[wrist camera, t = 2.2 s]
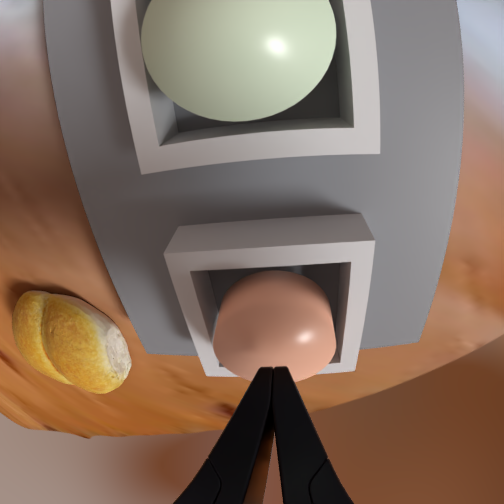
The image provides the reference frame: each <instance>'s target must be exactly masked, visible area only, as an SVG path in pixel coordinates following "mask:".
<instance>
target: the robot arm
mask: <svg viewBox="0 0 504 504" xmlns="http://www.w3.org/2000/svg"><path fill="white" fill-rule="evenodd" d="M274 433H275V438H276V446H277V455H278V463H279V471H280V480H281V487H282V497H283V504H354V503H353V501H352V500H351V498H350V497H349V496H348V494H347V492H346V491H345V489H344V487H343V486H342V484H341V482H340V480H339V478H338V477H337V475H336V472H335V471H334V469H333V467H332V464H331V462H330V460H329V459H328V456H327V453H326V452H325V449H324V447H323V445H322V443H321V440H320V438H319V436H318V434H317V431H316V429H315V427H314V425H313V423H312V420H311V418H310V416H309V414H308V411H307V409H306V407H305V405H304V402H303V400H302V398H301V396H300V393H299V391H298V389H297V387H296V384H295V382H294V380H293V378H292V375H291V373H290V371H289V369H288V367H287V366H275V367H274V368H273V367H271V366H269V367H260V368H259V369H258V371H257V373H256V374H255V376H254V378H253V380H252V382H251V384H250V385H249V387H248V389H247V391H246V392H245V394H244V396H243V398H242V400H241V401H240V403H239V405H238V407H237V408H236V410H235V412H234V414H233V415H232V417H231V419H230V420H229V422H228V424H227V426H226V427H225V429H224V431H223V432H222V434H221V436H220V437H219V439H218V441H217V443H216V444H215V446H214V447H213V449H212V451H211V452H210V454H209V456H208V458H209V459H208V458H207V459H206V461H205V462H204V463H203V465H202V467H201V468H200V470H199V471H198V473H197V474H196V476H195V477H194V478H193V480H192V482H191V483H190V484H189V485H188V486H187V488H186V489H185V490H184V491H183V492H182V494H181V495H180V496H179V497H178V498H177V499H176V500H175V502H174V503H173V504H263V499H264V493H265V488H266V483H267V477H268V471H269V465H270V459H271V453H272V447H273V440H274Z"/></svg>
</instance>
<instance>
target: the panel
mask: <svg viewBox="0 0 504 504" xmlns="http://www.w3.org/2000/svg"><path fill="white" fill-rule="evenodd" d="M150 2H151V0H43V10H44V25H45V36H46V45H47V53H48V61H49V67H50V74H51V80H52V86H53V91H54V97H55V102H56V107H57V112H58V116H59V121H60V125H61V130H62V134H63V138H64V142H65V146H66V150H67V153H68V157H69V161H70V164H71V168H72V171H73V175H74V178H75V181H76V185H77V188H78V191H79V194H80V197H81V200H82V203H83V206H84V209H85V212H86V215H87V218H88V221H89V224H90V226H91V229H92V232H93V234H94V237H95V240H96V242H97V245H98V248H99V250H100V253H101V255H102V258H103V260H104V263H105V265H106V267H107V270H108V272H109V275H110V277H111V279H112V282H113V284H114V286H115V288H116V291H117V293H118V295H119V297H120V300H121V302H122V304H123V306H124V308H125V310H126V312H127V315H128V317H129V319H130V321H131V323H132V325H133V327H134V329H135V331H136V333H137V335H138V337H139V339H140V341H141V343H142V345H143V346H144V348H145V350H146V352H147V353H148V354H165V355H189V356H199V358H200V361H201V363H202V366H203V368H204V371H205V373H206V376H226V377H239V376H237V375H235V374H233V373H232V372H230V371H229V370H227V369H226V368H225V367H224V366H223V365H222V364H221V363H220V362H219V360H218V359H217V357H216V355H215V353H214V349H213V339H214V334H215V329H216V324H217V320H218V315H219V311H220V306H221V301H222V299H223V296H224V295H225V293H226V291H227V290H228V289H229V288H230V287H231V286H232V285H233V284H234V283H235V282H237V281H239V280H240V279H242V278H244V277H246V276H248V275H251V274H254V273H258V272H262V271H271V270H279V271H288V272H293V273H297V274H300V275H302V276H305V277H307V278H309V279H310V280H312V281H314V282H315V283H316V284H317V285H319V286H320V287H321V288H322V290H323V291H324V292H325V294H326V295H327V297H328V300H329V303H330V308H331V314H332V320H333V326H334V332H335V338H336V350H335V354H334V356H333V358H332V359H331V361H330V362H329V363H328V365H327V366H326V367H325V368H323V369H322V370H321V371H319V372H318V373H317V374H326V373H338V372H348V371H355V367H356V363H357V358H358V353H359V350H360V349H370V348H378V347H386V346H394V345H402V344H409V343H415V342H419V339H420V337H421V334H422V331H423V328H424V325H425V322H426V320H427V317H428V313H429V310H430V307H431V304H432V301H433V297H434V294H435V291H436V287H437V284H438V280H439V276H440V273H441V269H442V265H443V261H444V257H445V252H446V248H447V244H448V239H449V234H450V229H451V224H452V219H453V213H454V208H455V202H456V195H457V188H458V181H459V173H460V164H461V153H462V141H463V123H464V70H463V53H462V41H461V31H460V23H459V15H458V8H457V2H456V0H329V2H330V5H331V8H332V10H333V13H334V18H335V23H336V44H335V50H334V53H333V57H332V60H331V62H330V65H329V67H328V69H327V71H326V73H325V74H324V76H323V77H322V79H321V80H320V82H319V83H318V84H317V85H316V87H315V88H314V89H313V90H312V91H311V92H310V93H309V94H308V95H307V96H305V97H304V98H303V99H302V100H300V101H299V102H297V103H296V104H295V105H293V106H291V107H289V108H287V109H286V110H284V111H282V112H279V113H277V114H274V115H272V116H268V117H265V118H261V119H256V120H250V121H236V122H233V121H220V120H215V119H209V118H206V117H203V116H199V115H197V114H194V113H192V112H190V111H188V110H186V109H184V108H182V107H181V106H179V105H177V104H176V103H175V102H173V101H172V100H171V99H170V98H168V97H167V96H166V95H165V94H164V93H163V92H162V91H161V90H160V89H159V87H158V86H157V85H156V83H155V82H154V81H153V79H152V77H151V75H150V73H149V72H148V69H147V67H146V64H145V61H144V58H143V53H142V46H141V32H142V25H143V20H144V16H145V14H146V11H147V8H148V6H149V4H150Z"/></svg>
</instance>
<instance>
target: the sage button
mask: <svg viewBox="0 0 504 504" xmlns="http://www.w3.org/2000/svg"><path fill="white" fill-rule="evenodd" d="M335 44H336V23H335V18H334V13H333V10H332V8H331V5H330V2H329V0H151V2H150V4H149V6H148V8H147V11H146V14H145V16H144V20H143V25H142V32H141V46H142V53H143V58H144V61H145V64H146V67H147V69H148V72H149V73H150V75H151V77H152V79H153V81H154V82H155V83H156V85H157V86H158V87H159V89H160V90H161V91H162V92H163V93H164V94H165V95H166V96H167V97H168V98H170V99H171V100H172V101H173V102H175V103H176V104H177V105H179V106H181V107H182V108H184V109H186V110H188V111H190V112H192V113H194V114H197V115H199V116H203V117H206V118H209V119H215V120H220V121H233V122H236V121H250V120H256V119H261V118H265V117H268V116H272V115H274V114H277V113H279V112H282V111H284V110H286V109H287V108H289V107H291V106H293V105H295V104H296V103H297V102H299V101H300V100H302V99H303V98H304V97H305V96H307V95H308V94H309V93H310V92H311V91H312V90H313V89H314V88H315V87H316V85H317V84H318V83H319V82H320V80H321V79H322V77H323V76H324V74H325V73H326V71H327V69H328V67H329V65H330V62H331V60H332V57H333V53H334V50H335Z"/></svg>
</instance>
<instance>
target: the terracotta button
mask: <svg viewBox="0 0 504 504" xmlns="http://www.w3.org/2000/svg"><path fill="white" fill-rule="evenodd" d="M213 349H214V353H215V355H216V357H217V359H218V360H219V362H220V363H221V364H222V365H223V366H224V367H225V368H226V369H227V370H229V371H230V372H232V373H233V374H235V375H237V376H239V377H241V378H244V379H247V380H250V381H252V380H253V378H254V376H255V374H256V373H257V371H258V369H259V368H260V367H269V366H271V367H273V368H274V367H275V366H287V367H288V369H289V371H290V373H291V375H292V378H293V380H294V382H296V381H300V380H303V379H306V378H308V377H311V376H313V375H315V374H317V373H318V372H319V371H321V370H322V369H323V368H325V367H326V366H327V365H328V363H329V362H330V361H331V359H332V358H333V356H334V354H335V350H336V338H335V332H334V326H333V320H332V314H331V308H330V303H329V300H328V297H327V295H326V294H325V292H324V291H323V290H322V288H321V287H320V286H319V285H317V284H316V283H315V282H314V281H312V280H310V279H309V278H307V277H305V276H302V275H300V274H297V273H293V272H288V271H279V270H271V271H262V272H258V273H254V274H251V275H248V276H246V277H244V278H242V279H240V280H239V281H237V282H235V283H234V284H233V285H232V286H231V287H230V288H229V289H228V290H227V291H226V293H225V295H224V296H223V299H222V301H221V306H220V311H219V315H218V320H217V324H216V329H215V334H214V339H213Z"/></svg>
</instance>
